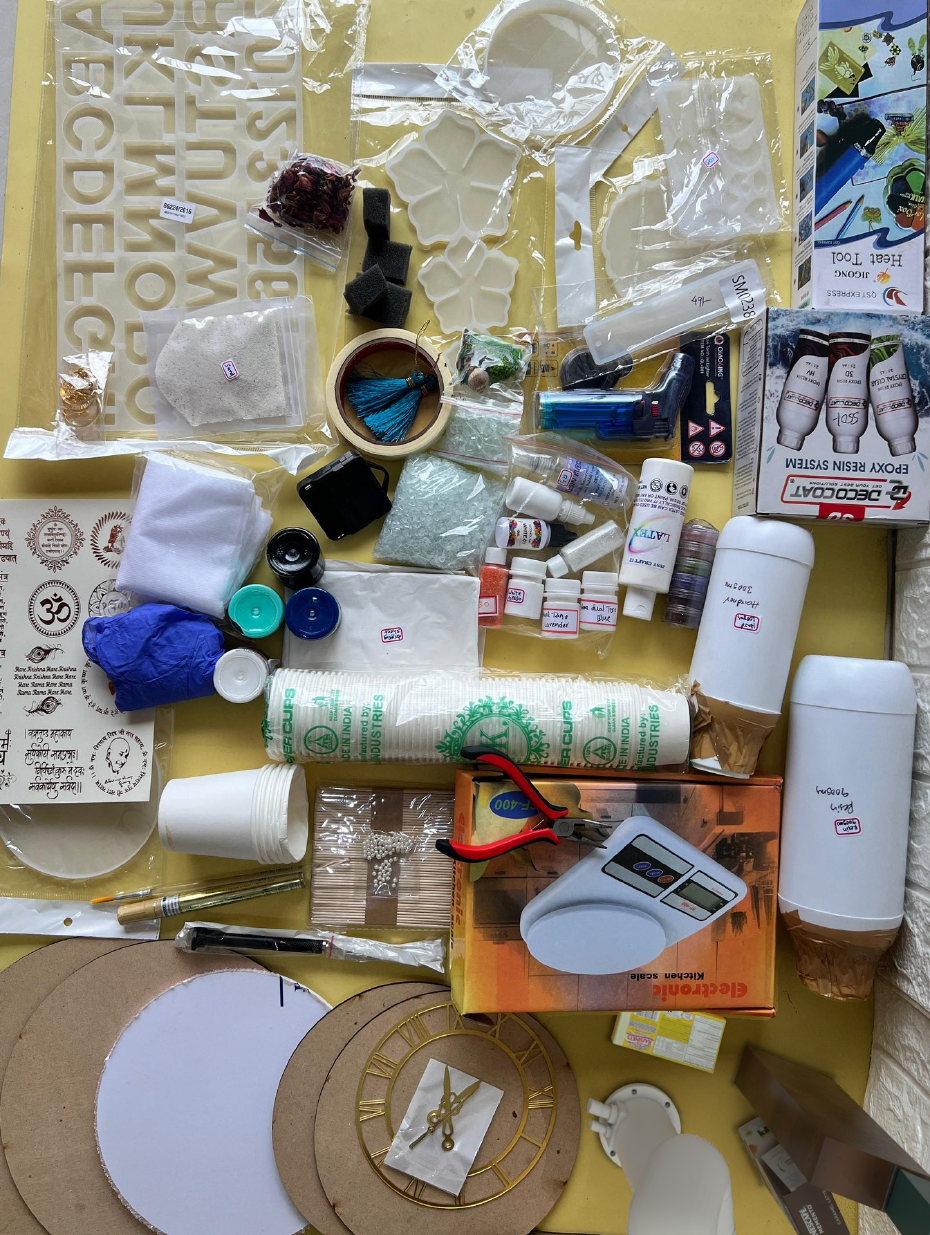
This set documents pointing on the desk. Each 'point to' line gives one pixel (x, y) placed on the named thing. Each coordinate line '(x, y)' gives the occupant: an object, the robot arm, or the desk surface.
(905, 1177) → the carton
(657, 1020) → the candy box
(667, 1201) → the robot arm
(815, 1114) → the brown slanted block
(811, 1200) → the coffee box
